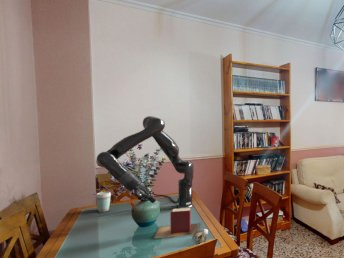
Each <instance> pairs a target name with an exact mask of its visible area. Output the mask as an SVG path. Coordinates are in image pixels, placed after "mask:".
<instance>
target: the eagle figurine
mask: <svg viewBox="0 0 344 258" xmlns="http://www.w3.org/2000/svg"><path fill="white" fill-rule="evenodd" d="M208 234H209V229H207V228H204V229H203V230H202V229H198V230H197V229H196V232H195V233H194V234H192V238H191V239H192V240H195V241H196V242H197V243H196V246H198V245H197V244H200V243H202V242H205V243H206V242H207V235H208Z"/></svg>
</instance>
